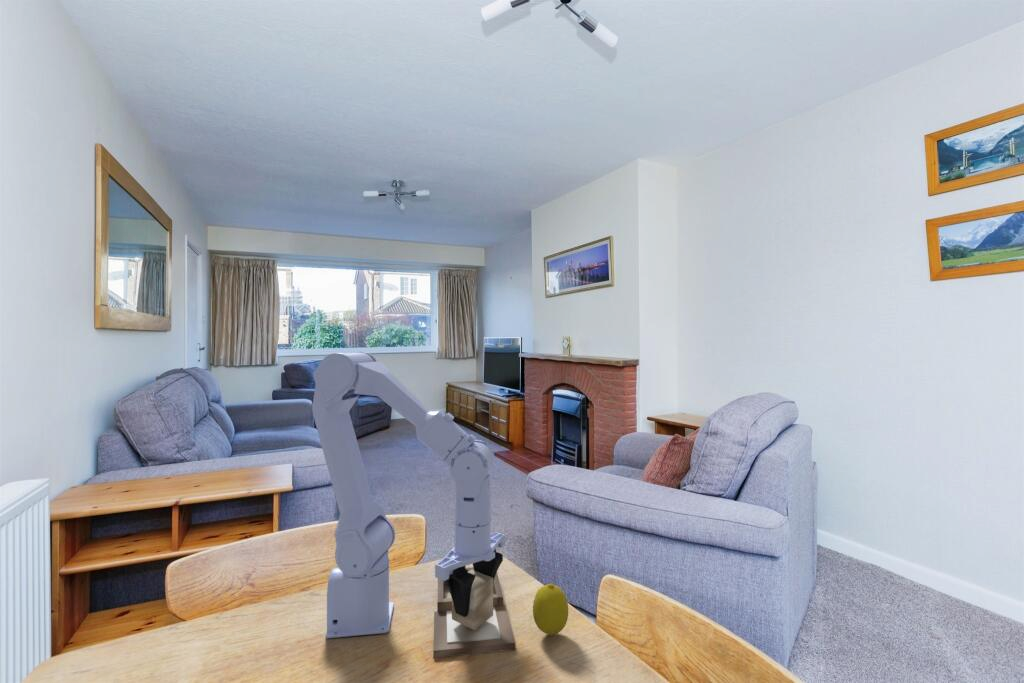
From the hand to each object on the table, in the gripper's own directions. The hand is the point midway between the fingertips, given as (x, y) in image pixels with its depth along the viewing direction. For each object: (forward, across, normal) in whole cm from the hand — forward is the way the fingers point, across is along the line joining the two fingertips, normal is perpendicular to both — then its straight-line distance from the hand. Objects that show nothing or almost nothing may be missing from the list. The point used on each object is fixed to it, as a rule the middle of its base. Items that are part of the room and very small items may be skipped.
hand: (472, 606), depth 73 cm
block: (+2, 0, 0) cm, 2 cm away
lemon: (+4, +6, -10) cm, 13 cm away
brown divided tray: (+4, +4, +4) cm, 7 cm away
